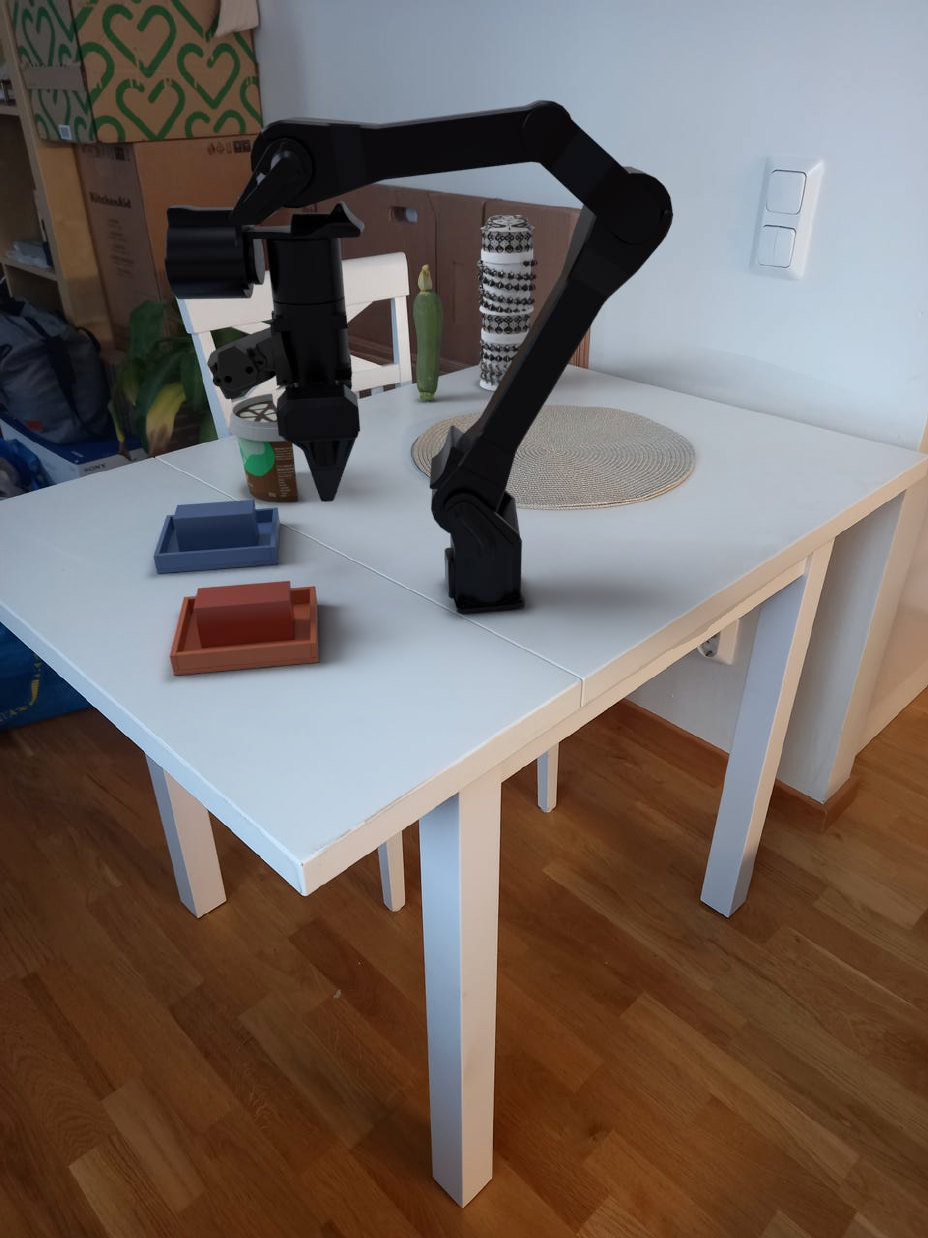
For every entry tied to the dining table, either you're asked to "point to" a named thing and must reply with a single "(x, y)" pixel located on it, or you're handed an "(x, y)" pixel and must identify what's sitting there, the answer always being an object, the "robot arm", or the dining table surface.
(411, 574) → the dining table surface
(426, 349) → the vegetable
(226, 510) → the blue bar
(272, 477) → the food container
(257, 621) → the red bar
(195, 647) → the orange tray
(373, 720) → the dining table surface
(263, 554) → the blue tray
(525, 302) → the decorative candle
